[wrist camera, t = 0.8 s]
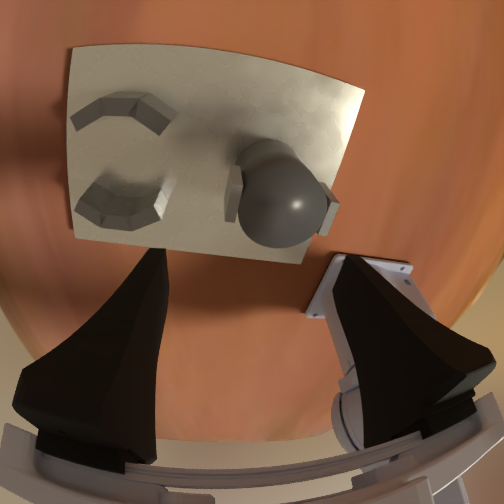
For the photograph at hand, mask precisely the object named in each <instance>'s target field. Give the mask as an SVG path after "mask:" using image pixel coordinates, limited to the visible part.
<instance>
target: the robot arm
mask: <svg viewBox="0 0 504 504" xmlns="http://www.w3.org/2000/svg"><path fill="white" fill-rule="evenodd" d="M342 260H344V261H342ZM412 269H413V266H412V265H411V264H410V263H403V262H396V261H389V260H382V259H374V258H367V257H360V256H358V255H345V254H337V255H335V256H334V257H333V259H332V261H331V263H330V265H329V267H328V269H327V271H326V273H325V275H324V277H323V279H322V281H321V283H320V285H319V287H318V289H317V291H316V293H315V295H314V297H313V299H312V301H311V302H310V304H309V306H308V308H307V310H306V312H305V315H306V317H307V318H326V321H327V324H328V327H329V330H330V333H331V336H332V339H333V343H334V346H335V349H336V352H337V355H338V358H339V361H340V364H341V368H342V371H343V374H344V378H342V379H340V380H339V381H338V383H339V386H340V390H341V392H339V393H337V394H336V395H335V397H334V400H333V404H332V408H331V420H332V425H333V429H334V432H335V435H336V437H337V439H338V441H339V443H340V444H341V446H342V447H343V448H344V449H345V450H346V451H347V452H348V454H343V455H339V456H334V457H330V458H325V459H320V460H315V461H309V462H303V463H297V464H289V465H281V466H272V467H261V468H249V469H220V470H218V469H215V470H213V469H211V470H210V469H209V470H207V469H182V468H168V467H157V466H148V465H150V464H152V463H153V462H154V461H155V460H156V459H157V455H156V435H155V390H156V370H157V361H158V355H159V350H160V344H161V339H162V334H163V329H164V324H165V319H166V314H167V307H168V296H169V280H168V270H167V259H166V248H149V249H148V250H147V252H146V253H145V254H144V256H143V257H142V259H141V260H140V261H139V263H138V264H137V265H136V267H135V268H134V269H133V270H132V272H131V273H130V274H129V275H128V277H127V278H126V279H125V281H124V282H123V283H122V284H121V285H120V287H119V288H118V289H117V290H116V291H115V292H114V294H113V295H112V296H111V297H110V298H109V299H108V301H107V302H106V303H105V304H104V305H103V306H102V307H101V308H100V309H99V310H98V311H97V312H96V313H95V314H94V315H93V316H92V317H91V318H90V319H89V320H88V321H87V322H86V323H85V324H84V325H82V326H81V327H80V328H79V329H78V330H77V331H76V332H75V333H73V334H72V335H71V336H70V337H69V338H67V339H66V340H65V341H64V342H62V343H61V344H60V345H58V346H57V347H56V348H54V349H53V350H51V351H50V352H49V353H47V354H46V355H44V356H43V357H41V358H40V359H38V360H36V361H35V362H33V363H32V364H30V365H29V366H27V367H25V368H24V369H22V372H21V375H20V378H19V381H18V384H17V387H16V391H15V395H14V398H13V402H12V406H13V408H14V410H15V411H16V412H17V413H18V414H19V415H20V416H22V417H23V418H24V419H26V420H27V421H29V422H30V423H31V424H33V425H34V426H35V427H37V428H38V429H39V430H38V436H36V435H34V434H32V433H30V432H28V431H25V430H23V429H20V428H18V427H16V426H13V425H11V424H9V423H6V424H5V425H4V431H3V436H2V441H1V447H0V486H2V487H3V488H5V489H7V490H9V491H10V492H12V493H14V494H16V495H18V496H20V497H22V498H24V499H25V500H27V501H29V502H31V503H34V504H215V498H214V497H213V496H212V495H210V494H191V493H180V492H169V491H168V490H167V489H166V488H165V487H175V488H176V487H177V488H192V489H193V488H194V489H236V488H253V487H265V486H273V485H282V484H290V483H295V482H302V481H308V480H313V479H318V478H323V477H328V476H332V475H336V474H340V473H344V472H348V471H352V470H355V469H359V468H360V469H361V470H362V472H363V474H360V475H357V476H354V477H352V478H351V481H352V485H353V488H352V489H350V490H346V491H342V492H339V493H334V494H331V495H326V496H322V497H317V498H312V499H307V500H301V501H296V502H289V503H282V504H470V503H469V499H468V496H467V493H466V489H465V486H464V483H463V480H462V477H461V475H462V473H464V472H465V471H466V470H468V469H469V468H470V467H471V466H472V465H473V464H475V463H476V462H477V461H478V460H479V459H480V458H481V457H482V456H483V455H485V454H486V453H487V452H488V451H489V450H490V449H491V448H493V447H494V446H495V445H496V444H497V443H498V442H500V441H501V440H502V439H503V438H504V419H503V417H502V414H501V412H500V409H499V407H498V405H497V402H496V400H495V398H494V395H493V393H492V392H490V393H489V394H487V395H485V396H483V397H482V398H480V399H478V400H477V401H475V402H473V399H472V397H474V396H475V391H474V389H473V388H474V387H475V386H476V385H478V384H479V383H480V382H481V381H482V380H483V379H485V378H486V377H487V376H488V375H489V374H490V373H491V372H492V371H493V369H494V368H495V367H496V361H495V359H494V357H493V355H492V353H491V351H490V350H489V349H488V348H486V347H484V346H482V345H480V344H477V343H475V342H473V341H471V340H469V339H467V338H465V337H463V336H461V335H459V334H457V333H456V332H454V331H452V330H450V329H449V328H447V327H446V326H444V325H443V324H441V323H439V322H438V321H437V320H436V317H435V315H434V313H433V311H432V309H431V308H430V306H429V304H428V303H427V301H426V299H425V298H424V296H423V295H422V293H421V291H420V290H419V288H418V287H417V285H416V284H415V282H414V280H413V279H412V277H411V276H410V272H411V271H412ZM141 464H145V465H141ZM146 464H147V465H146ZM163 486H164V487H163Z"/></svg>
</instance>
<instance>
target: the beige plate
mask: <svg viewBox="0 0 504 504" xmlns="http://www.w3.org/2000/svg"><path fill="white" fill-rule="evenodd" d="M364 92H365V90H362V89H360V88H357V87H355V86H352V85H350V84H347V83H344V82H342V81H339V80H336V79H333V78H330V77H328V76H325V75H322V74H318V73H315V72H312V71H309V70H306V69H302V68H299V67H295V66H292V65H288V64H284V63H280V62H276V61H272V60H268V59H263V58H259V57H254V56H249V55H244V54H239V53H233V52H227V51H220V50H213V49H205V48H197V47H187V46H174V45H155V44H117V45H98V46H86V47H76V48H73V52H72V59H71V66H70V75H69V86H68V100H67V168H68V183H69V194H70V204H71V212H72V220H73V227H74V234H75V238H79V239H87V240H95V241H103V242H111V243H119V244H127V245H136V246H144V247H152V248H166V249H169V250H178V251H186V252H195V253H203V254H212V255H220V256H229V257H238V258H247V259H256V260H264V261H273V262H282V263H291V264H300V265H301V263H302V260H303V258H304V256H305V253H306V251H307V248H308V246H309V243H310V241H311V238H312V236H311V237H310V238H309V239H307V240H306V241H304V242H302V243H300V244H298V245H295V246H292V247H288V248H269V247H265V246H262V245H259V244H257V243H255V242H254V241H252V240H251V239H250V238H249V237H248V236H247V235H246V234H245V233H244V231H243V230H242V228H241V226H240V223H239V219H238V211H237V215H236V220H235V223H231V222H225V221H224V195H225V190H226V185H227V180H228V175H229V170H230V165H235V163H236V160H237V158H238V157H239V155H240V154H241V153H242V151H244V150H245V149H246V148H247V147H248V146H250V145H252V144H253V143H256V142H259V141H263V140H277V141H281V142H283V143H286V144H287V145H289V146H290V147H292V148H293V149H294V150H295V151H296V152H297V154H298V155H299V156H300V158H301V159H302V160H303V162H304V163H305V164H306V166H307V167H308V168H309V170H310V171H311V172H312V174H313V175H314V177H315V178H316V179H317V181H319V182H323V183H325V184H326V185H327V187H328V188H329V189H330V190H331V187H332V185H333V182H334V179H335V176H336V174H337V171H338V168H339V166H340V163H341V160H342V157H343V154H344V152H345V149H346V146H347V143H348V140H349V137H350V134H351V131H352V129H353V126H354V123H355V120H356V117H357V114H358V111H359V107H360V104H361V101H362V98H363V95H364Z"/></svg>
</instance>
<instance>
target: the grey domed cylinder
mask: <svg viewBox="0 0 504 504" xmlns="http://www.w3.org/2000/svg"><path fill="white" fill-rule="evenodd" d="M339 205H340V203H339V202H338V200H337V199H336V197H335V196H334V195H333V193H332V192H331V191H330V189H329V188H328V187H327V185H326V184H325V183H323V182H319V181H317V179H316V178H315V177H314V175H313V174H312V172H311V171H310V170H309V168H308V167H307V166H306V164H305V163H304V162H303V160H302V159H301V158H300V156H299V155H298V154H297V152H296V151H295V150H294V149H293V148H292V147H290V146H289V145H287V144H286V143H283V142H281V141H277V140H263V141H259V142H256V143H253V144H252V145H250V146H248V147H247V148H246V149H245V150H244V151H242V153H241V154H240V155H239V157H238V158H237V160H236V163H235V165H230V170H229V175H228V180H227V185H226V190H225V195H224V221H225V222H231V223H235V220H236V215H237V211H238V219H239V223H240V226H241V228H242V230H243V231H244V233H245V234H246V235H247V236H248V237H249V238H250V239H251V240H252V241H254V242H255V243H257V244H259V245H262V246H265V247H269V248H288V247H292V246H295V245H298V244H300V243H302V242H304V241H306V240H307V239H309V238H310V237H311V236H313V235H314V234H315V233H316V232H317V234H318V235H321V236H327V234H328V232H329V229H330V227H331V224H332V222H333V220H334V217H335V215H336V212H337V210H338V208H339Z"/></svg>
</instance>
